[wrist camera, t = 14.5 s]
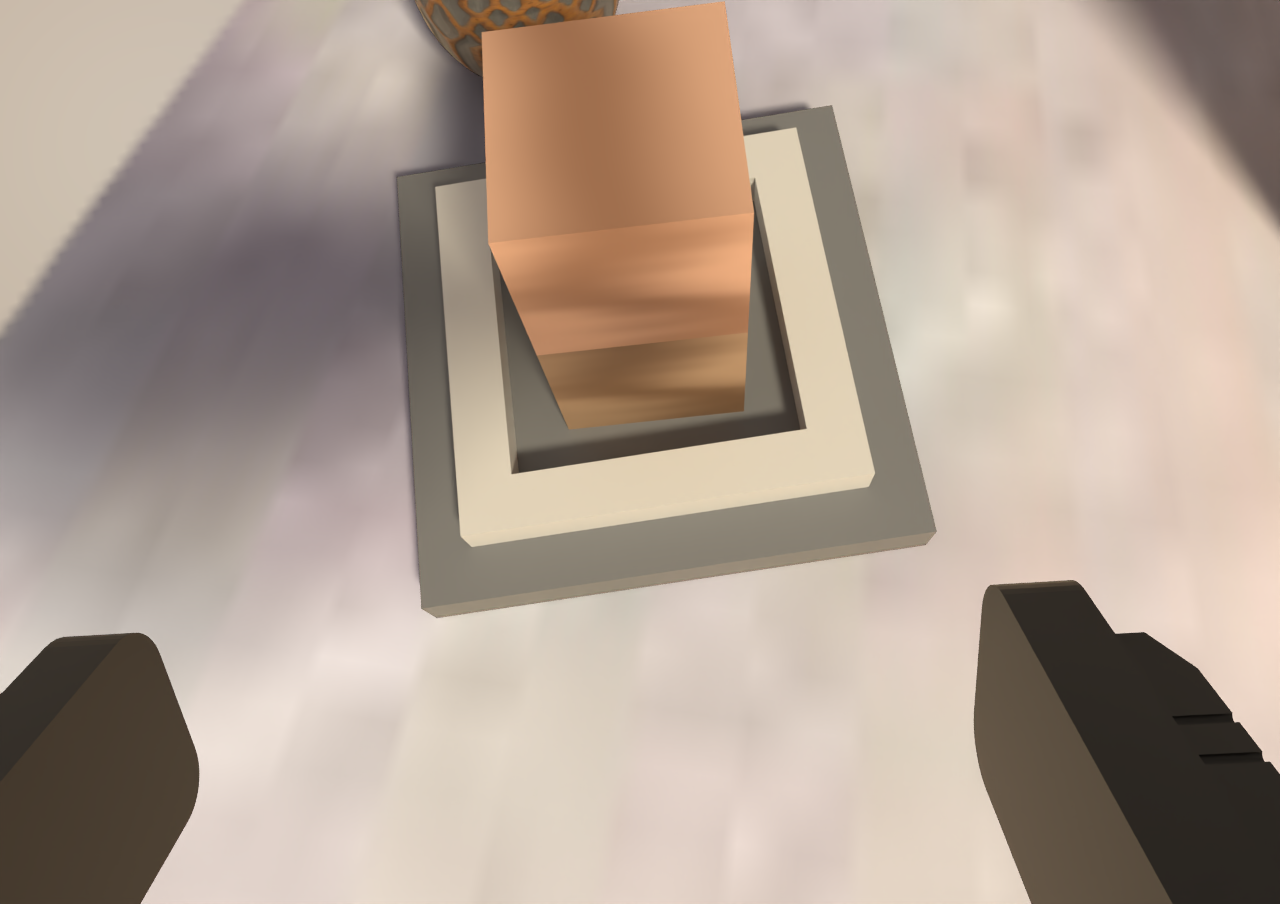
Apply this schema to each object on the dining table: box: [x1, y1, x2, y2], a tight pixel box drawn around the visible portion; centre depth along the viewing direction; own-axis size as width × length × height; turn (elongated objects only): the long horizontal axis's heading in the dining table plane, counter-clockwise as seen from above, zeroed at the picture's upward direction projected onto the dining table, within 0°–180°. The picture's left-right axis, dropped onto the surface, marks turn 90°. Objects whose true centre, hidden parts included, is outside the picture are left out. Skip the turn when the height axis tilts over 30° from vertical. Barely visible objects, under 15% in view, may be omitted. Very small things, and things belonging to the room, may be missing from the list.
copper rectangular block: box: [482, 1, 754, 430], centre depth 24 cm, size 5×5×10 cm
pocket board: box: [397, 105, 937, 618], centre depth 28 cm, size 14×14×3 cm
